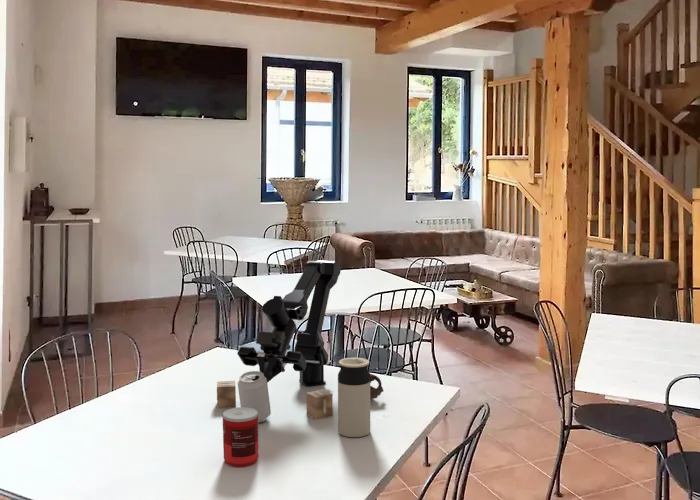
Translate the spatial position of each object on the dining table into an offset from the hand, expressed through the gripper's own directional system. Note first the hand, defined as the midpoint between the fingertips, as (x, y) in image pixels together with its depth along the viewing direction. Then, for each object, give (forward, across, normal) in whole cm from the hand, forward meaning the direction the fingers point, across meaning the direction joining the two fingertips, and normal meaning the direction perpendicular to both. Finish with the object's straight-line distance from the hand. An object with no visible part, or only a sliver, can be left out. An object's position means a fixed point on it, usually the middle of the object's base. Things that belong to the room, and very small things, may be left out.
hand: (260, 385), depth 180 cm
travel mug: (+7, +27, +6) cm, 28 cm away
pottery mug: (-12, +20, +22) cm, 32 cm away
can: (+7, 0, +4) cm, 8 cm away
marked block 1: (+2, -14, +10) cm, 17 cm away
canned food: (+25, +9, -11) cm, 29 cm away
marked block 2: (+1, +14, +11) cm, 18 cm away
